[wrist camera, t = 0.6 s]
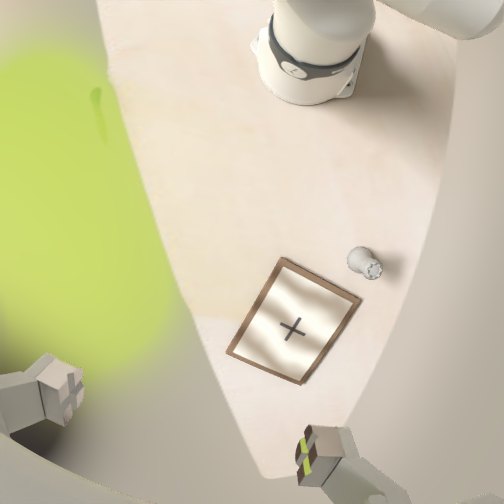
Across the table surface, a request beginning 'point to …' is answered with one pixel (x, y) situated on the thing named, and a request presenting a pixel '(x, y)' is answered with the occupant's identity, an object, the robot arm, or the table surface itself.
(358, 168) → the table surface
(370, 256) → the rook chess piece
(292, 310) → the brown-bordered mat
